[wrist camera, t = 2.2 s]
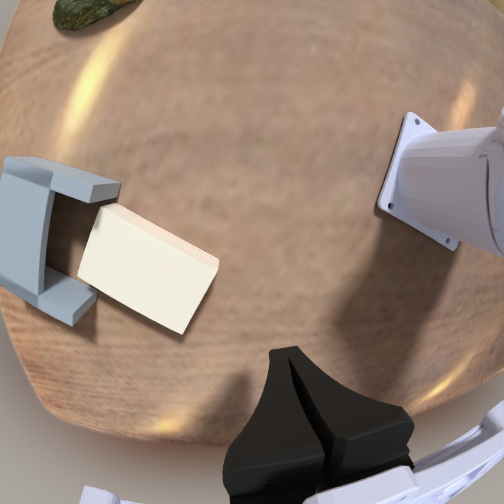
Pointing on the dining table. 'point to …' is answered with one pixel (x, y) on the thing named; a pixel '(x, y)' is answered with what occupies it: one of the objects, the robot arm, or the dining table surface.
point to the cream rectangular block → (146, 267)
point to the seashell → (83, 12)
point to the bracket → (42, 232)
